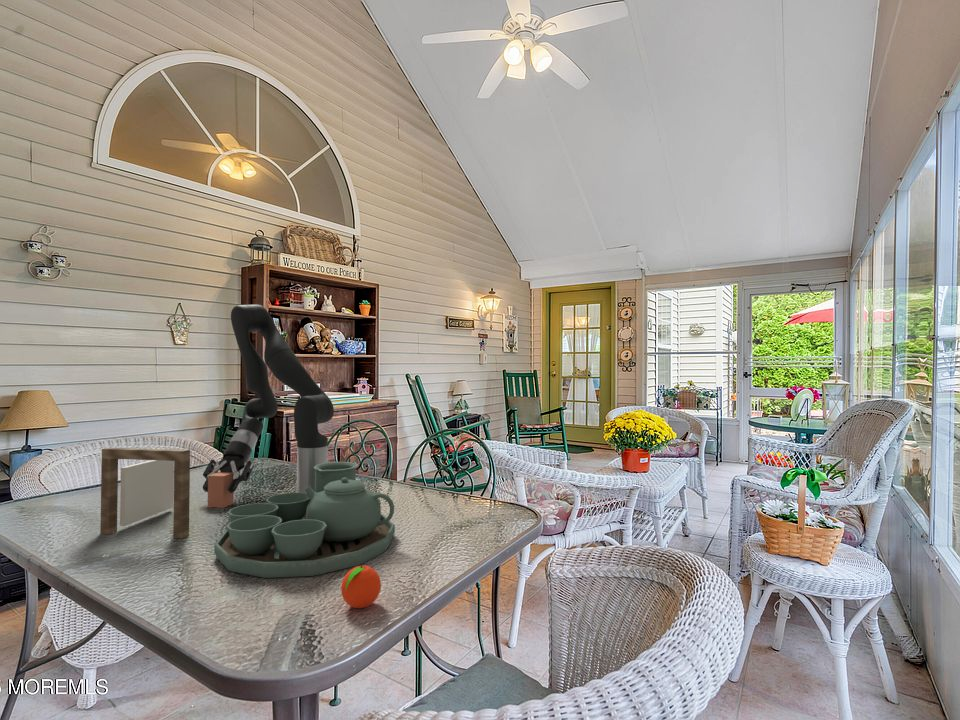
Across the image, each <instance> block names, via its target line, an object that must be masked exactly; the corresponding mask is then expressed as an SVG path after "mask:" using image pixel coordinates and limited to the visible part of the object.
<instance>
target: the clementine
mask: <svg viewBox="0 0 960 720" xmlns="http://www.w3.org/2000/svg"><path fill="white" fill-rule="evenodd" d="M340 586H341V588H340V589H341V590H340V591H341V596H342V598H343V600H344V601H345V603H346V604H347V605H348V606H350V607H352V608H355V609H364V608H367V607H369V606H370V605H372V604H373V603H374V602H375V601H376V600H377V599H378V598H379V595H380V592H381V588H382V584H381V578H380V576H379V573H378V572H377V571H376V570H375V569H374V568H372V567H371V566H368V565H357V566H353V567H352V569H350V570H349V571H347V573H346V574H345V575H344V577H343V579H342V581H341V585H340Z"/></svg>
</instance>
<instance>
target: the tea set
mask: <svg viewBox="0 0 960 720" xmlns="http://www.w3.org/2000/svg"><path fill="white" fill-rule="evenodd" d="M358 467H359V464H358V463H356V462H350V461H332V462H331V461H330V462H328V463H322V464H318V465H316V466H314V469H315V470H316V492H315V491H313V490H312V489H311V488H310V486H309V487H308V488H307V489H306V490H305V491H306V493H307V494H306V493H297V492H286V493H278V494H275V495H272V496H269V497H267V498H266V500H265V502H257V503H256V502H255V503H248V504H242V505H238V506H236V507H233V508H229V510H228V511H227V515H228V516H229V517H228V518H229V521H230V522H229V523H228V524H227V525H226V526H225V528H226V530H225V531H224V532H223V533H222V534H221V535H220V537H219V538H218V540H217V541H216V542H215V543H214V550H213V551H214V552H213V553H214V555H215V556H216V559H218V561H220V563H221V564H222V565H223V566H224V567H225V569H227V570H228V571H229V572H233V573H238V574H243V575H248V576H255V577H259V578H263V579H272V578H292V577H293V578H294V577H295V578H296V577H312V576H314V577H315V576H318V575H322V574H326V573H331V572H335V571H340V570H344V569H347V568H348V569H349V568H354V567H357V566H361V565H362V564H364V563H365V562H368V561H369V560H371V559H373V558H375V557H377V556H379V555H381V554H383V553H384V552H386V551H387V549H388V548H389V545H390V543H391V541H392V539H393V537H394V535H395V532H396V525H395V524H394V523H393V522H392V521H391V520H392V518H393V516H394V513H395V505H394V502H393V500H392V498H391V497H390V496H389V495H387V494H385V493H383V492H382V493H380V492H379V493H374V492H373V491H370V490H369V489H366V488H365V483H364V482H362V481H361V480H359V479H358V480H356V479H357V478H356V477H357V475H356V474H357V472H356V469H357V468H358ZM380 499H383V500H385V502H387V504H388V506H389V514H388V515H387V516H385V514H383V513H382V511H381V502H380Z"/></svg>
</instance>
